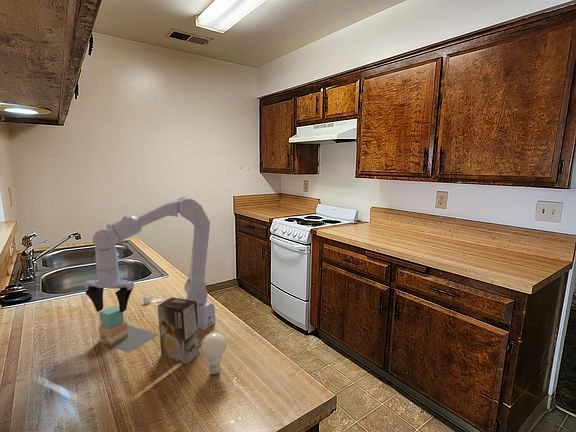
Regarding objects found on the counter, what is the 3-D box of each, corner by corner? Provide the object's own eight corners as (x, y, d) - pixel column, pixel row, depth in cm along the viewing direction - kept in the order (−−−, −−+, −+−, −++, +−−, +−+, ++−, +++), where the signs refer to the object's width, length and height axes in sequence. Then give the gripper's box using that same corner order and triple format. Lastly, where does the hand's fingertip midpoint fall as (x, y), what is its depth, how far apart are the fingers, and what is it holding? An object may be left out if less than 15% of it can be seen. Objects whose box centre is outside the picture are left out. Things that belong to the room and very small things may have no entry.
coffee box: (200, 352, 94) (198, 300, 91) (186, 365, 88) (183, 310, 85) (175, 346, 97) (172, 296, 94) (160, 358, 91) (156, 305, 89)
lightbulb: (206, 365, 88) (204, 327, 86) (229, 365, 88) (228, 328, 86) (199, 380, 81) (197, 340, 80) (224, 381, 81) (222, 340, 80)
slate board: (159, 337, 102) (159, 334, 102) (128, 355, 92) (128, 352, 92) (129, 328, 108) (129, 325, 108) (97, 344, 99) (97, 341, 98)
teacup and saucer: (164, 301, 130) (163, 292, 130) (154, 310, 123) (153, 300, 122) (144, 301, 131) (143, 291, 131) (132, 309, 124) (131, 299, 123)
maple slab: (128, 336, 101) (127, 329, 100) (111, 345, 96) (111, 337, 96) (116, 332, 103) (115, 325, 103) (100, 341, 98) (99, 333, 98)
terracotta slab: (127, 329, 100) (126, 321, 100) (111, 337, 96) (110, 329, 95) (115, 325, 103) (115, 318, 102) (99, 333, 98) (98, 326, 98)
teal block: (123, 322, 100) (122, 309, 99) (109, 328, 96) (108, 314, 95) (115, 319, 102) (114, 305, 101) (100, 325, 98) (99, 311, 97)
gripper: (138, 264, 99) (141, 305, 101) (94, 263, 101) (98, 304, 103) (124, 271, 92) (128, 316, 94) (77, 270, 94) (82, 314, 96)
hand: (111, 310), depth 98 cm, fingers open, 7 cm apart
